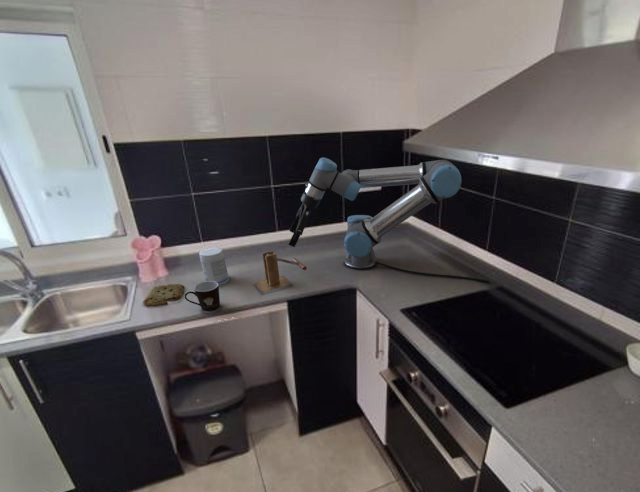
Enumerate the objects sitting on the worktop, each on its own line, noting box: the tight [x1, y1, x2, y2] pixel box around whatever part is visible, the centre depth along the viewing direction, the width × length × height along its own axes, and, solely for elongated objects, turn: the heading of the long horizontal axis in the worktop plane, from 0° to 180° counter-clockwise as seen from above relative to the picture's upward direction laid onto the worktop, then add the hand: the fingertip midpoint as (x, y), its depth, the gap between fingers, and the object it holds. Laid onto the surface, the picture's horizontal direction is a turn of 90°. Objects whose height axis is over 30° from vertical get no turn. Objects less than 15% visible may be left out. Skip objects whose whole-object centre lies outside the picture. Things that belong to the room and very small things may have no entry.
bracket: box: [254, 250, 293, 292], centre depth 158 cm, size 13×10×15 cm
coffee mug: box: [184, 280, 221, 312], centre depth 142 cm, size 12×9×10 cm
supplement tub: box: [198, 247, 230, 286], centre depth 162 cm, size 10×10×15 cm
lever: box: [265, 254, 307, 271], centre depth 160 cm, size 16×11×2 cm
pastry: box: [142, 283, 185, 307], centre depth 153 cm, size 17×17×3 cm
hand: (291, 238), depth 164 cm, fingers open, 13 cm apart
